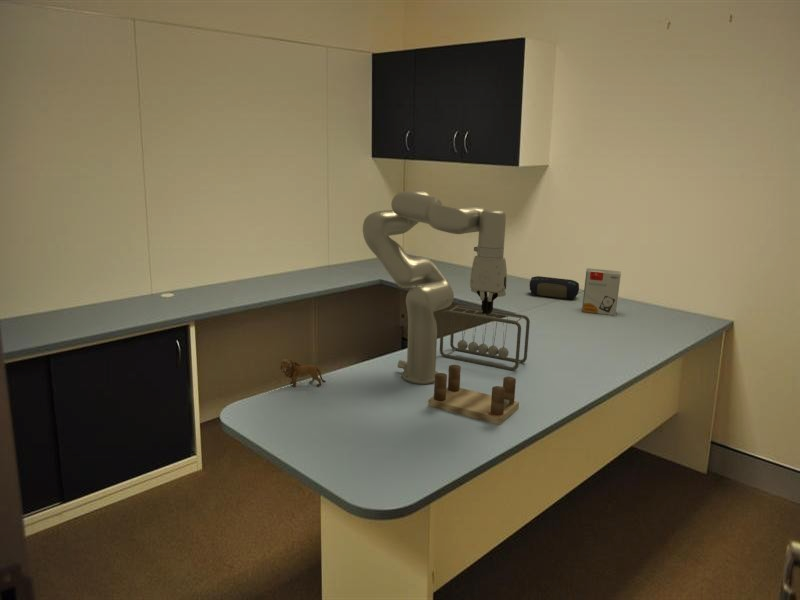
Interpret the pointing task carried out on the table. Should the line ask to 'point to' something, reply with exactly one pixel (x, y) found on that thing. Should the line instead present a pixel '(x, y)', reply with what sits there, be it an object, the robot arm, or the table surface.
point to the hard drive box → (601, 291)
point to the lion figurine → (299, 371)
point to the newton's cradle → (483, 347)
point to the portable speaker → (554, 287)
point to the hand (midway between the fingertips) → (486, 313)
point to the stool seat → (465, 399)
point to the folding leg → (503, 395)
